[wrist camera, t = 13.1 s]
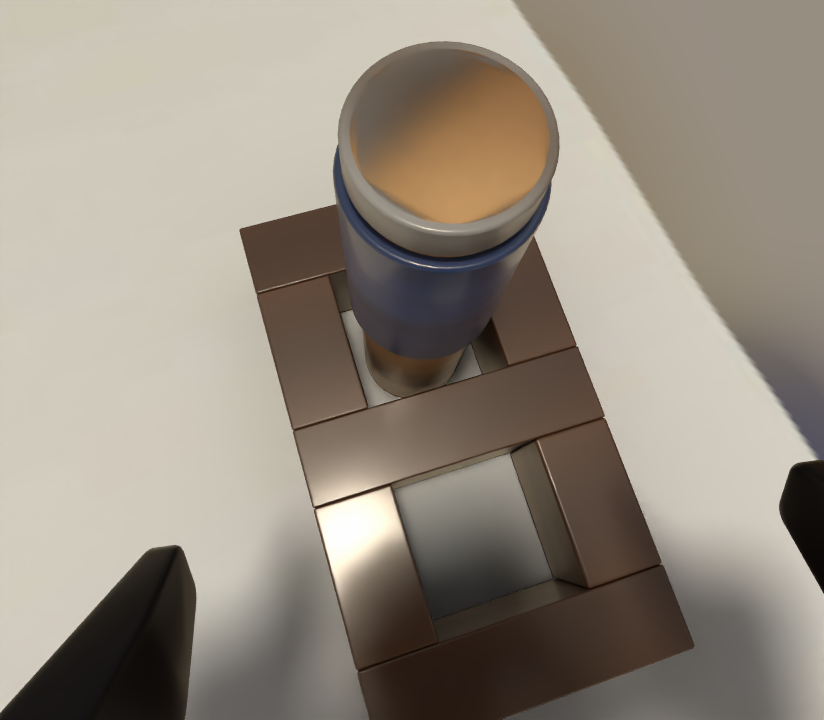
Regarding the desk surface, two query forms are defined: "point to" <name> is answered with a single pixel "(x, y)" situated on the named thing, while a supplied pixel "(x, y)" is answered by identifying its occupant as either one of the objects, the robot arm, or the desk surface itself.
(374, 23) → the desk surface
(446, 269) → the travel flask
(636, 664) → the holder
